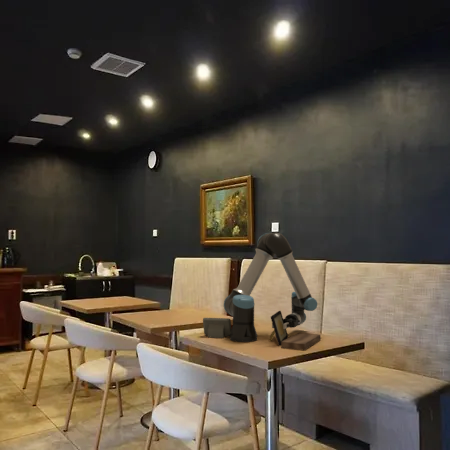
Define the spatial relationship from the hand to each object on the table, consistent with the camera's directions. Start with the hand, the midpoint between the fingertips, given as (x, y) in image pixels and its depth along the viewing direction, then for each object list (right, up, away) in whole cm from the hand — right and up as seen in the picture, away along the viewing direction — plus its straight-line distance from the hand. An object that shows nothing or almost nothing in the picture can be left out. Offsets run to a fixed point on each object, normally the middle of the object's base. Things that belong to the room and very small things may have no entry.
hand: (278, 326), depth 233 cm
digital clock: (-33, -9, +13) cm, 36 cm away
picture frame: (-1, -8, 0) cm, 8 cm away
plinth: (+11, -8, -7) cm, 15 cm away
